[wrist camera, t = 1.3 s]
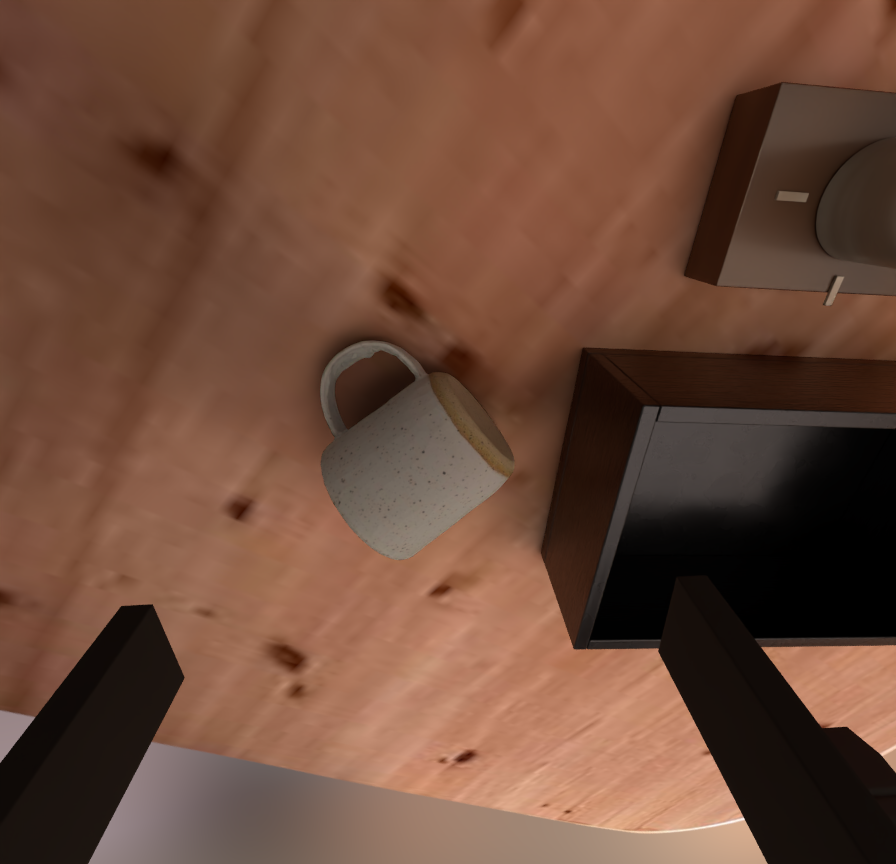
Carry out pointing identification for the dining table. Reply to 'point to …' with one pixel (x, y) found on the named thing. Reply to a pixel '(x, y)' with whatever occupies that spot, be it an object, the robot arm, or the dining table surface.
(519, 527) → the dining table surface
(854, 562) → the dark brown open box
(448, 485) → the ceramic mug
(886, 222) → the tap knob
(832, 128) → the panel
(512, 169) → the dining table surface
